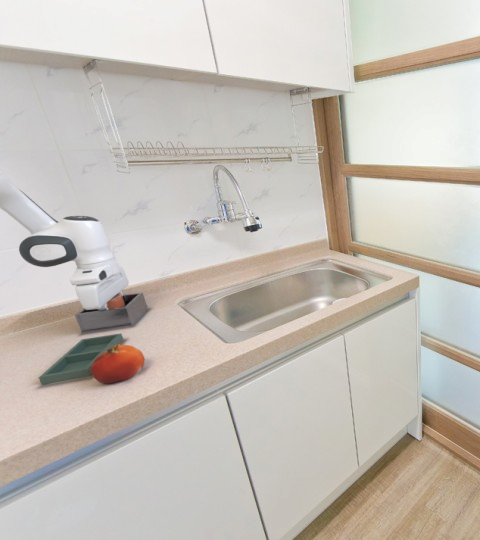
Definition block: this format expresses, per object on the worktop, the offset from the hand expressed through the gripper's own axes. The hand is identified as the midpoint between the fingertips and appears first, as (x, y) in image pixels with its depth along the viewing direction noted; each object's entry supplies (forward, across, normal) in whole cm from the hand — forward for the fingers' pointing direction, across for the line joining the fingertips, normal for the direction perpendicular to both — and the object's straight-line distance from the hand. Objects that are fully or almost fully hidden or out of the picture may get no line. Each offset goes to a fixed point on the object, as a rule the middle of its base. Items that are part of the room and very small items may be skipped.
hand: (114, 310), depth 104 cm
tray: (+4, +24, +3) cm, 25 cm away
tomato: (+4, +35, +15) cm, 38 cm away
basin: (+4, 0, 0) cm, 4 cm away
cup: (+3, 0, 0) cm, 3 cm away
